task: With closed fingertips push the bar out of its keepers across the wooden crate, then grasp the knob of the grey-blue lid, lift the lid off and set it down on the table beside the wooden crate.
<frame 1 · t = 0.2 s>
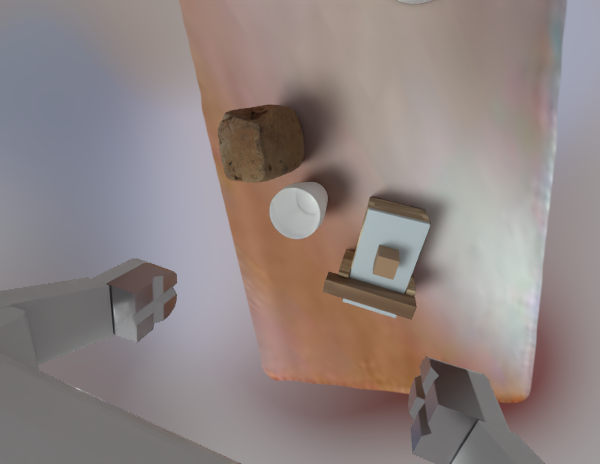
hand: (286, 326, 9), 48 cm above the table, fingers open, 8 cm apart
bar: (368, 294, 49), point 11 cm above the table, slide at 0.0 cm
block: (287, 139, 55), on the table
wooden crate: (383, 246, 56), on the table
lid: (382, 263, 49), point 8 cm above the table, touching wooden crate
cup: (312, 197, 57), on the table
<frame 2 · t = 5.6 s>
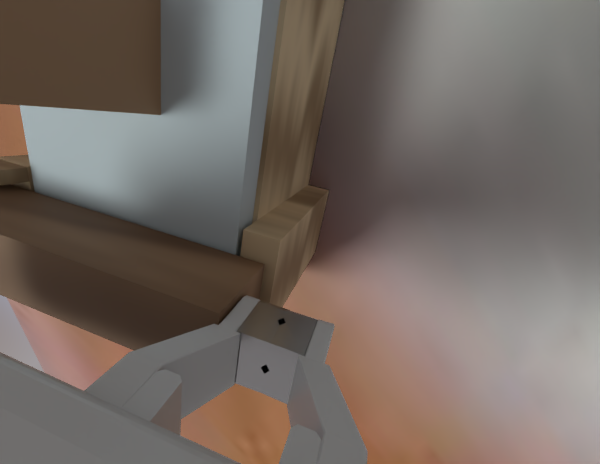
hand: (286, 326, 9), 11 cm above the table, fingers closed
bar: (57, 252, 11), point 11 cm above the table, slide at 0.5 cm, touching gripper
wooden crate: (242, 124, 18), on the table
lid: (147, 119, 11), point 8 cm above the table, touching wooden crate
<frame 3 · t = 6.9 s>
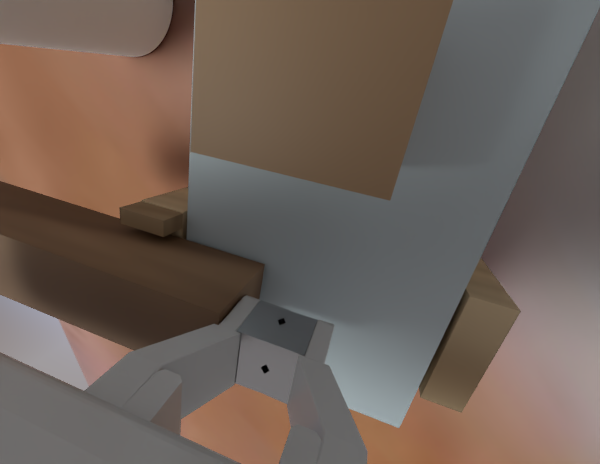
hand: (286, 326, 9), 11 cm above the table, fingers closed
bar: (57, 252, 11), point 11 cm above the table, slide at 8.0 cm, touching gripper
wooden crate: (358, 149, 17), on the table
lid: (336, 163, 10), point 8 cm above the table, touching wooden crate
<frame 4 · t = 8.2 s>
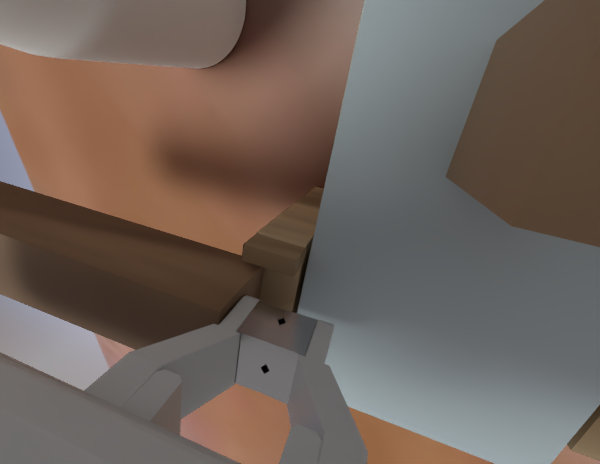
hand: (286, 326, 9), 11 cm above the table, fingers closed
bar: (58, 251, 11), point 11 cm above the table, slide at 12.8 cm, touching gripper
wooden crate: (441, 166, 16), on the table
lid: (488, 195, 9), point 8 cm above the table, touching wooden crate
cup: (198, 6, 17), on the table
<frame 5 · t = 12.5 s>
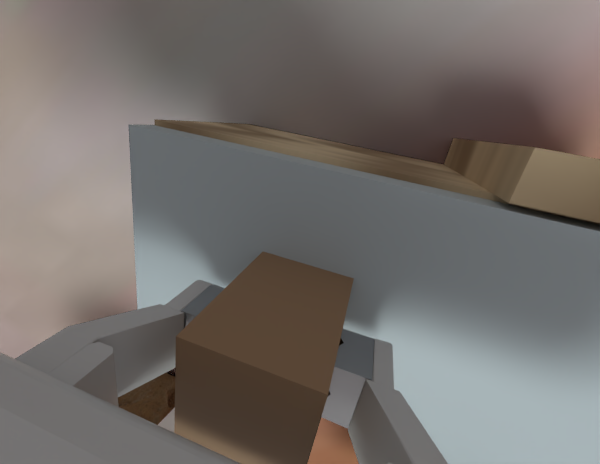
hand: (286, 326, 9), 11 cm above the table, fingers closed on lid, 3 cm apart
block: (160, 391, 30), on the table
wooden crate: (369, 233, 18), on the table
lid: (357, 302, 11), point 8 cm above the table, touching wooden crate, gripper
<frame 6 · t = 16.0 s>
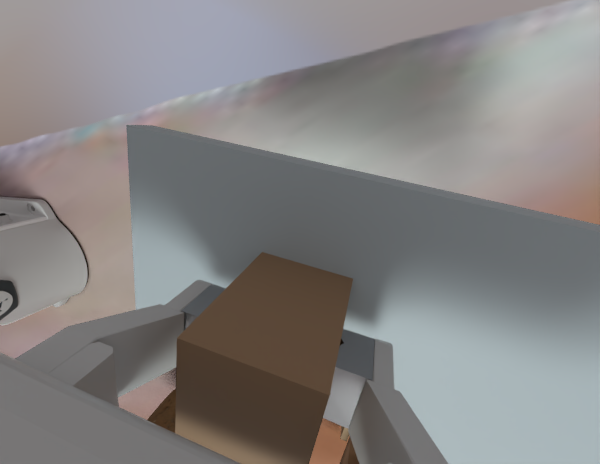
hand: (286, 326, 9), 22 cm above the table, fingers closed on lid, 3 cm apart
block: (213, 392, 46), on the table
lid: (356, 302, 11), point 20 cm above the table, touching gripper
when the fingers open (4 cm above the table, at t = 19.5 s): lid drops 2 cm, on the table.
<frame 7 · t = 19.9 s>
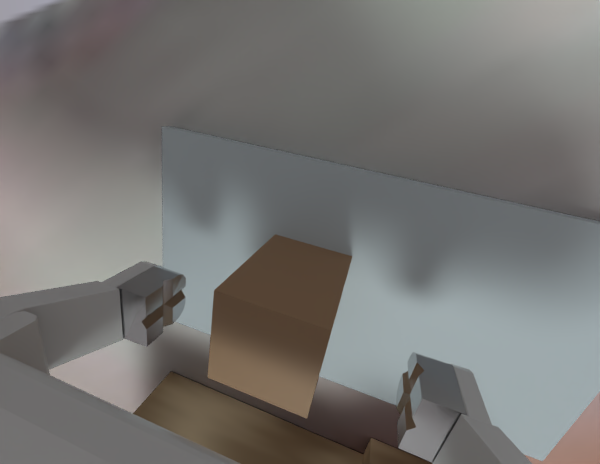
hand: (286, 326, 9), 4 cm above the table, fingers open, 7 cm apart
lid: (355, 279, 13), on the table
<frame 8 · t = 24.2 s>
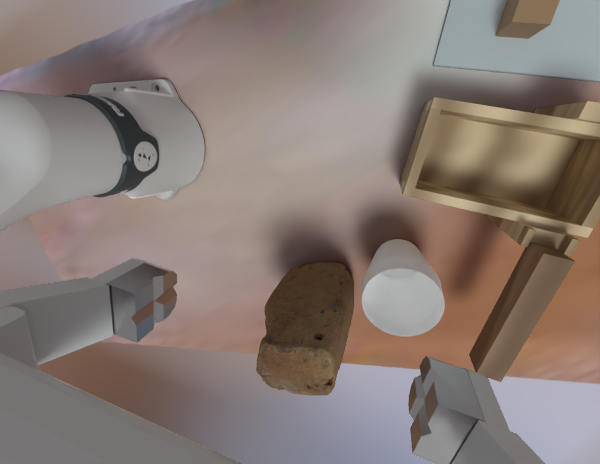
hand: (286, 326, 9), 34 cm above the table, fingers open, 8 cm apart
bar: (514, 314, 30), point 11 cm above the table, slide at 13.0 cm
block: (323, 279, 47), on the table
wooden crate: (485, 160, 35), on the table
lid: (533, 24, 31), on the table
cup: (397, 259, 43), on the table
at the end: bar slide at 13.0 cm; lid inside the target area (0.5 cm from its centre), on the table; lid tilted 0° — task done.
